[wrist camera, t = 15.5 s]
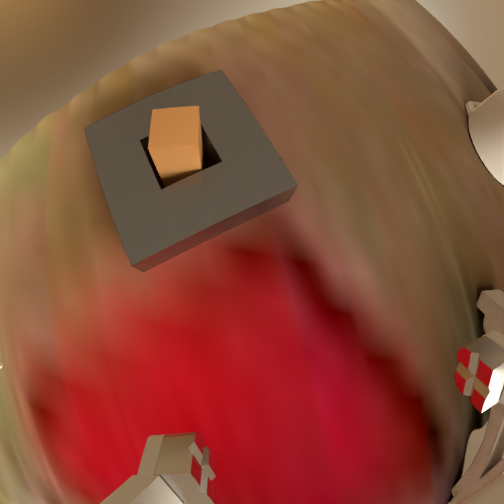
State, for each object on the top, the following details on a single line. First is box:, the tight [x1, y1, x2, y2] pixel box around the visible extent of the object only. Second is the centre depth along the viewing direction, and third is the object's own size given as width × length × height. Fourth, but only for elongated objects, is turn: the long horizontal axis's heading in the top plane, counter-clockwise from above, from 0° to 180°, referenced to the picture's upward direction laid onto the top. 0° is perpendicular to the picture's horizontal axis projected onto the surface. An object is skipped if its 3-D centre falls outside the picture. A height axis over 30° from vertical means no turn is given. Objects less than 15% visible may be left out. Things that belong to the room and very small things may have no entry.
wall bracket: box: [447, 289, 504, 504], centre depth 26 cm, size 22×4×30 cm
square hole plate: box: [84, 70, 298, 272], centre depth 28 cm, size 16×16×4 cm
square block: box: [148, 106, 204, 188], centre depth 26 cm, size 4×4×8 cm
